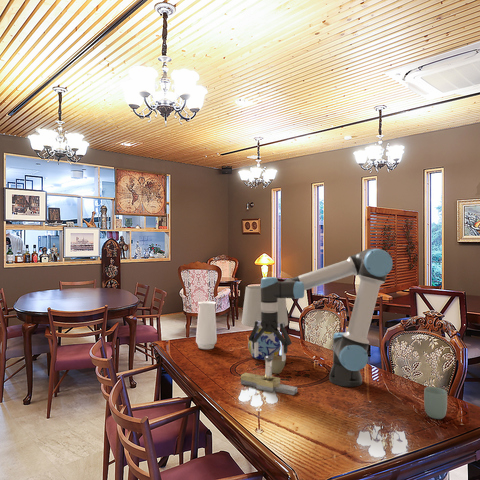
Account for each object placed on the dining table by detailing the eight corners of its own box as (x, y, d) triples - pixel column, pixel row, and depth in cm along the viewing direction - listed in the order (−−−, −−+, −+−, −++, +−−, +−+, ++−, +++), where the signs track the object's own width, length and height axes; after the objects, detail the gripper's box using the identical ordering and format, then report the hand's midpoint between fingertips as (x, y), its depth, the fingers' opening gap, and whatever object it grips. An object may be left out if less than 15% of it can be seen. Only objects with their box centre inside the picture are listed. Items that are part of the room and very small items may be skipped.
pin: (274, 387, 173) (274, 356, 173) (270, 390, 170) (271, 358, 170) (266, 385, 175) (266, 354, 175) (262, 388, 172) (263, 357, 172)
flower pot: (284, 376, 189) (285, 361, 189) (264, 374, 191) (265, 360, 191) (286, 369, 198) (286, 356, 199) (267, 368, 200) (267, 354, 201)
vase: (194, 345, 245) (194, 301, 245) (213, 344, 249) (214, 300, 249) (198, 350, 232) (198, 304, 233) (218, 349, 236) (219, 303, 237)
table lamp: (286, 365, 206) (287, 290, 207) (237, 361, 211) (238, 289, 212) (288, 351, 233) (289, 286, 234) (244, 349, 238) (245, 284, 238)
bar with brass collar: (298, 390, 170) (298, 381, 170) (292, 396, 163) (292, 387, 163) (247, 379, 182) (247, 371, 182) (238, 385, 175) (239, 376, 175)
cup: (426, 410, 150) (427, 385, 151) (449, 416, 146) (449, 390, 146) (421, 417, 144) (421, 390, 145) (444, 423, 140) (444, 396, 140)
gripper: (298, 312, 170) (298, 360, 170) (248, 308, 182) (249, 352, 182) (292, 314, 164) (292, 364, 163) (241, 310, 176) (241, 356, 175)
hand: (269, 358), depth 173 cm, fingers open, 13 cm apart
